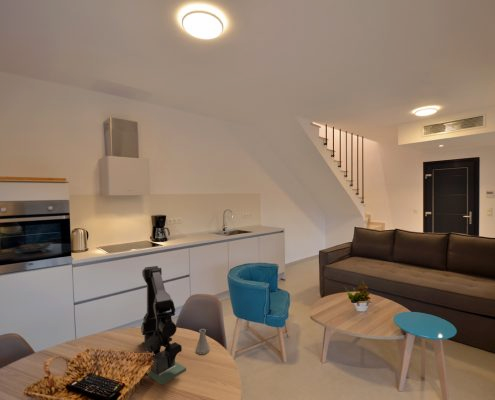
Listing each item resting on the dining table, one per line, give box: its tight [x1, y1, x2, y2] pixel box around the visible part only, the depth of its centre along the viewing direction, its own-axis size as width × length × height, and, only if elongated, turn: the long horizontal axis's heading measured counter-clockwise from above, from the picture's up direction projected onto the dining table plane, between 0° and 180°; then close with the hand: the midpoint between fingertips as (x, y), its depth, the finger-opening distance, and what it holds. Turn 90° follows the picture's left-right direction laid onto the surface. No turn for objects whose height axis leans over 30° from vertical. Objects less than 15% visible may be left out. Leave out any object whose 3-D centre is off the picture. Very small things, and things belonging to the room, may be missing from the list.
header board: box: [147, 361, 187, 385], centre depth 118 cm, size 16×12×6 cm
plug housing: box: [150, 349, 176, 374], centre depth 118 cm, size 4×9×6 cm, turn 141°
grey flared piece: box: [194, 328, 211, 355], centre depth 134 cm, size 7×7×10 cm
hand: (163, 363), depth 118 cm, fingers open, 9 cm apart
